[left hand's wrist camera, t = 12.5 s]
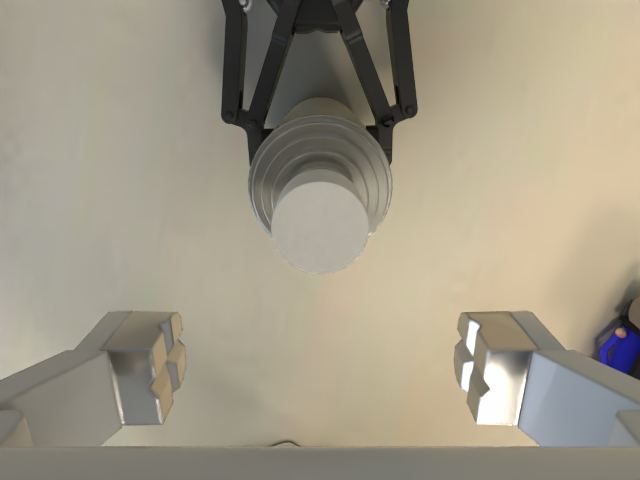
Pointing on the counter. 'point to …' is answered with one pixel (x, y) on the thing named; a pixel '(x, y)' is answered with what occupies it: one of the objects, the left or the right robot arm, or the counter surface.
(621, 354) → the figurine character
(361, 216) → the cap
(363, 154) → the silver ridged cylinder
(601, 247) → the counter surface
